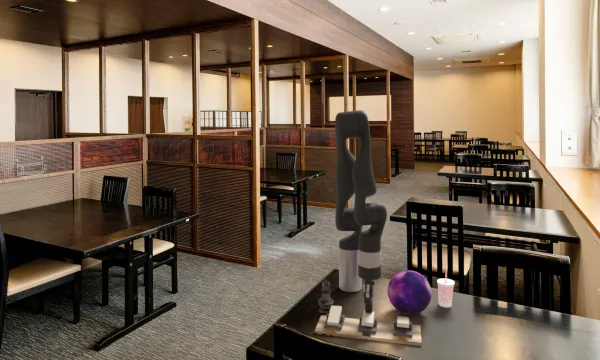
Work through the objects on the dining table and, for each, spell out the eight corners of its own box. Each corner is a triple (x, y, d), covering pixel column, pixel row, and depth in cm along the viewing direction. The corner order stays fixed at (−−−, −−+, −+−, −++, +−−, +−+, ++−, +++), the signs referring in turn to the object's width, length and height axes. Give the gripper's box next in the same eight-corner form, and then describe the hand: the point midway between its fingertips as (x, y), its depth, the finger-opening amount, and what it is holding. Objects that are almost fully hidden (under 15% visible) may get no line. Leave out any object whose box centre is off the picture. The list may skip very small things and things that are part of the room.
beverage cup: (457, 305, 148) (458, 268, 147) (447, 309, 145) (448, 272, 143) (443, 299, 153) (444, 264, 152) (432, 303, 150) (433, 267, 148)
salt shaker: (333, 306, 149) (333, 275, 148) (335, 313, 143) (335, 281, 142) (317, 307, 149) (317, 275, 147) (318, 314, 143) (318, 282, 142)
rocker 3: (397, 319, 133) (397, 316, 133) (408, 321, 132) (408, 317, 133) (397, 326, 126) (397, 322, 126) (409, 327, 125) (409, 323, 125)
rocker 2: (363, 314, 136) (363, 310, 136) (374, 315, 135) (374, 311, 135) (361, 325, 128) (361, 321, 128) (372, 326, 127) (372, 323, 127)
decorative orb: (387, 301, 153) (387, 263, 151) (428, 304, 150) (429, 265, 148) (387, 320, 138) (388, 278, 136) (433, 324, 135) (434, 281, 133)
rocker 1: (331, 308, 139) (331, 305, 138) (341, 309, 138) (341, 306, 137) (327, 324, 131) (327, 321, 131) (338, 325, 131) (338, 322, 130)
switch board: (321, 317, 141) (321, 307, 140) (420, 328, 132) (420, 317, 132) (314, 333, 130) (314, 322, 130) (421, 346, 122) (421, 334, 121)
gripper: (360, 255, 140) (359, 302, 143) (355, 269, 127) (355, 320, 130) (382, 256, 138) (381, 304, 141) (379, 271, 125) (378, 323, 128)
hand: (368, 312), depth 135 cm, fingers closed
